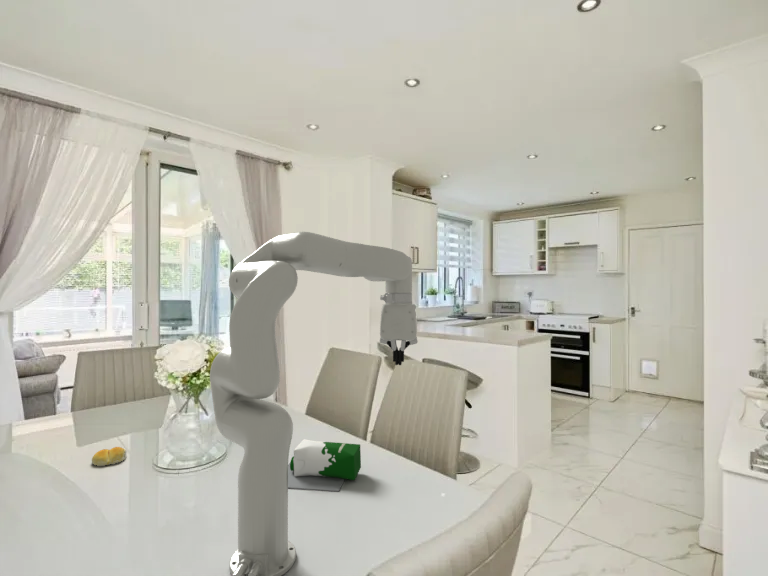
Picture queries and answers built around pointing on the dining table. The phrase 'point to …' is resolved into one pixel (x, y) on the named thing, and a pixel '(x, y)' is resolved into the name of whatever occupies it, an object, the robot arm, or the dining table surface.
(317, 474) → the white and green box
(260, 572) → the robot arm
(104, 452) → the bread roll
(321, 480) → the placemat
